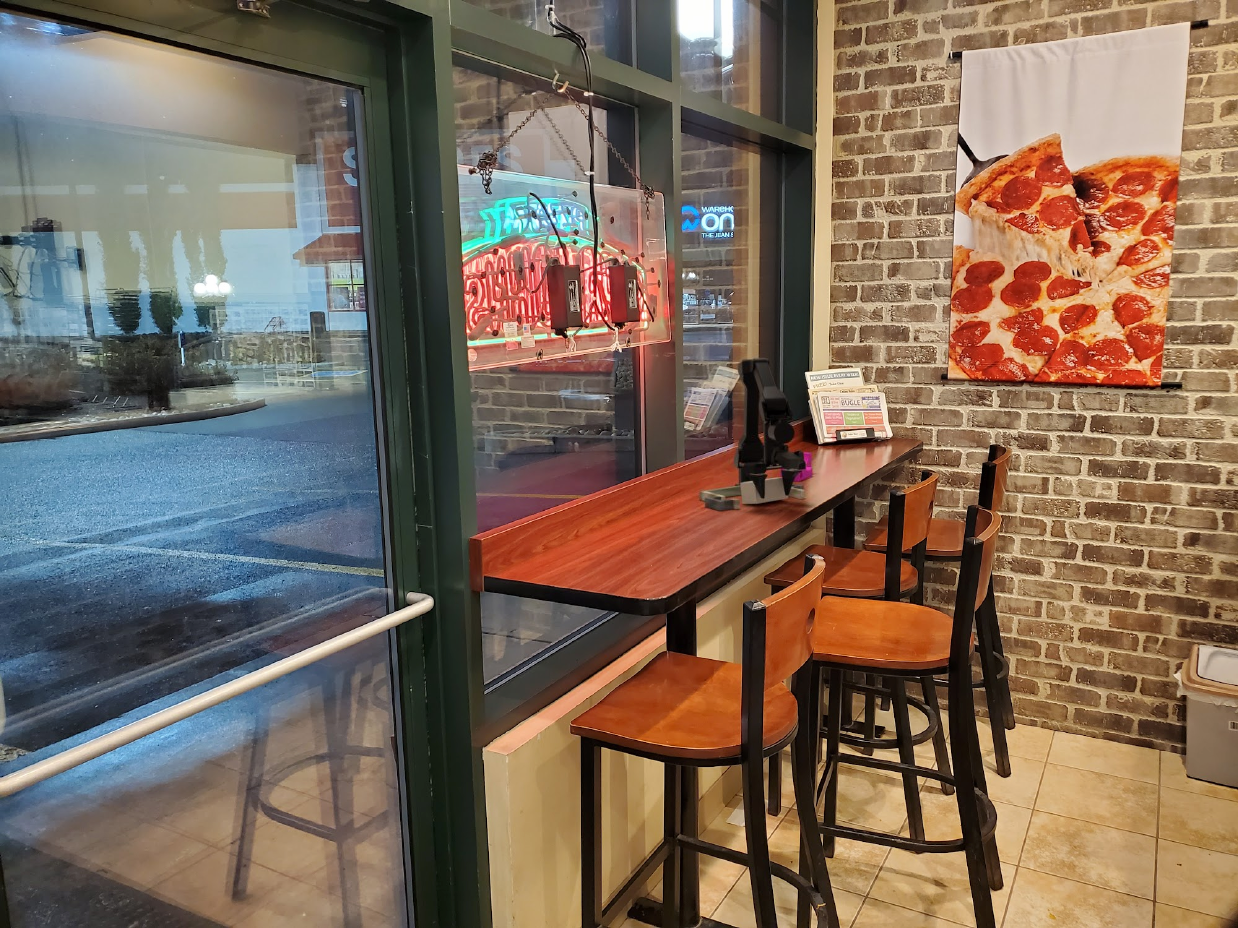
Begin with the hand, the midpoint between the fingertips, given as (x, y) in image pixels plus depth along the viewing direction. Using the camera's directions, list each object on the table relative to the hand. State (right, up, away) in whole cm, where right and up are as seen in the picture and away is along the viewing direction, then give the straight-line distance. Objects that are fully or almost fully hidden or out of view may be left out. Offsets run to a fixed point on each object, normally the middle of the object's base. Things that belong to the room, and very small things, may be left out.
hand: (775, 497), depth 260 cm
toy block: (+15, +4, +42) cm, 45 cm away
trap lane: (-5, -1, +9) cm, 10 cm away
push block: (-2, -1, +4) cm, 5 cm away
